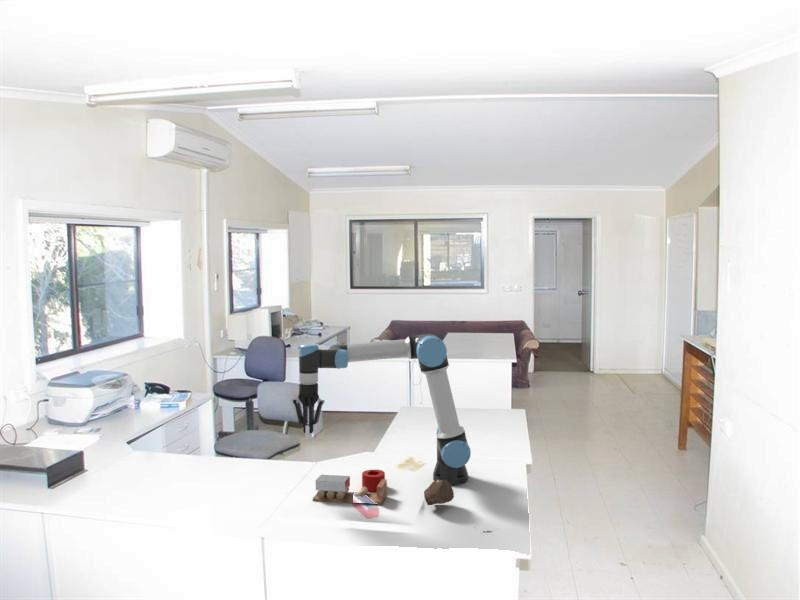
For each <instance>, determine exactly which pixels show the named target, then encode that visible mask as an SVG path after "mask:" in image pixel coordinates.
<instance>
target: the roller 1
mask: <svg viewBox="0 0 800 600" xmlns="http://www.w3.org/2000/svg"><path fill="white" fill-rule="evenodd" d="M327 492H328V491H319V490H317V492H316V494H317V497H318V498H323V497H324V496H325V495H326V493H327Z"/></svg>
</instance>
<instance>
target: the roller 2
mask: <svg viewBox="0 0 800 600" xmlns="http://www.w3.org/2000/svg"><path fill="white" fill-rule="evenodd" d="M347 492H350V487H349V488H348V489H347V490H346V492H338V493H337V494H336V497H337V499H340V500H341V499H343V498H344V496H345V495H346V494H347Z"/></svg>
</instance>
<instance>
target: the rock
mask: <svg viewBox="0 0 800 600" xmlns="http://www.w3.org/2000/svg"><path fill="white" fill-rule="evenodd" d="M454 494H455V492H454V489H453V487H452V485H450V484H449V482H448V481H447V480H436V481H434V480H433V481H432V482H431V484H430V485H429V486H427V488H426V489H425V490H424V492H423V495H424V496H423V497H424V500H425V502H426V505H427V506H434V505H435V504H437V505H440V504H446V503H449V502H451V501H452V500H453V499H454V497H455V495H454Z"/></svg>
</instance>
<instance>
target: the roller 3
mask: <svg viewBox="0 0 800 600" xmlns="http://www.w3.org/2000/svg"><path fill="white" fill-rule="evenodd" d="M357 493H358V494H357V495H356V496H361V497H363V496H364V495H366V494H367V493H369V492H368V488H367V487H362V486H361V489H359V491H358V492H357Z"/></svg>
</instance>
